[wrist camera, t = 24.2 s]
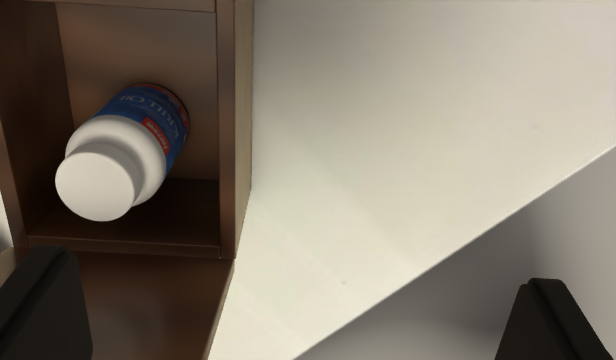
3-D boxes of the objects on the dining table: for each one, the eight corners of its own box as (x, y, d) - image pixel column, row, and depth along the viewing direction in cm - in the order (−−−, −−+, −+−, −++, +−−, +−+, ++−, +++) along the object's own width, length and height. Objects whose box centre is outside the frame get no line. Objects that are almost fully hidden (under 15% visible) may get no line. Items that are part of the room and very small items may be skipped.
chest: (39, -43, 31) (-53, -26, 23) (254, -29, 31) (234, -7, 24) (75, 177, 38) (13, 248, 30) (251, 187, 38) (235, 260, 30)
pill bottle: (205, 109, 35) (169, 177, 26) (168, 170, 37) (124, 251, 28) (129, 64, 33) (65, 120, 25) (95, 129, 35) (25, 202, 27)
